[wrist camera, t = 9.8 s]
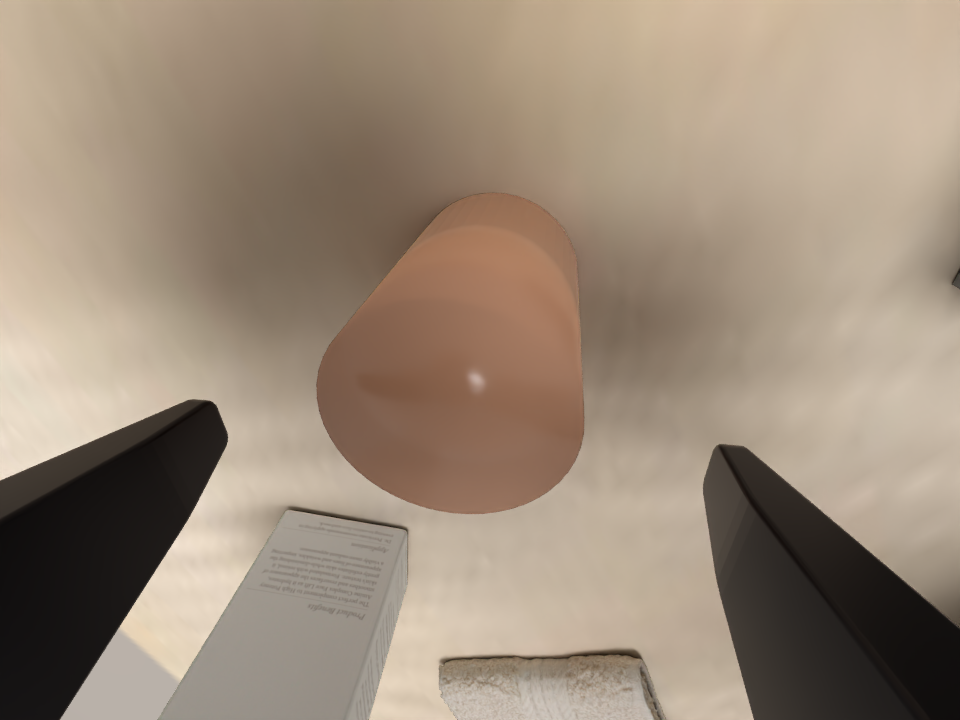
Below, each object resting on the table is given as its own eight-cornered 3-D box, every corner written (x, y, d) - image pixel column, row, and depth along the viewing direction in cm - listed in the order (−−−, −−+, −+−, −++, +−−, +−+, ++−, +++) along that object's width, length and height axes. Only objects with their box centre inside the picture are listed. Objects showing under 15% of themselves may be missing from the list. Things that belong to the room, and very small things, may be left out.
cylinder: (570, 351, 16) (572, 526, 10) (422, 342, 16) (342, 500, 11) (585, 193, 13) (599, 306, 7) (407, 191, 14) (288, 291, 8)
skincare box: (299, 559, 25) (113, 907, 15) (285, 500, 22) (50, 870, 12) (415, 580, 24) (304, 959, 14) (414, 523, 22) (279, 931, 12)
